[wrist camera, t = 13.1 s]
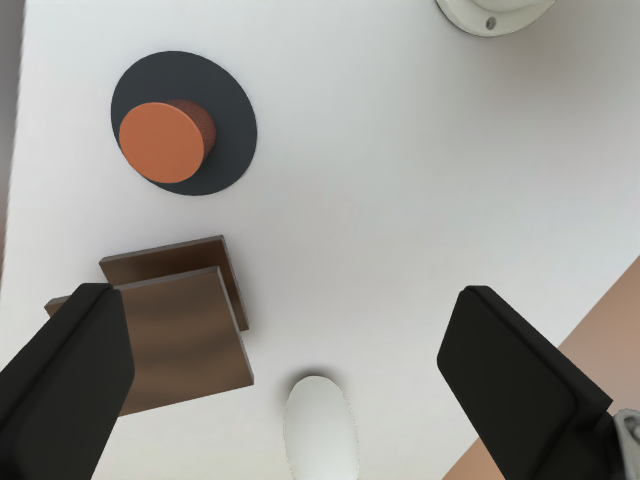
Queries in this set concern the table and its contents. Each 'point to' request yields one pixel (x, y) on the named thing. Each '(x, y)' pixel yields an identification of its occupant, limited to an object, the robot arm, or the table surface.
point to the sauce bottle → (320, 432)
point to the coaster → (209, 92)
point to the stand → (179, 322)
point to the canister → (167, 139)
